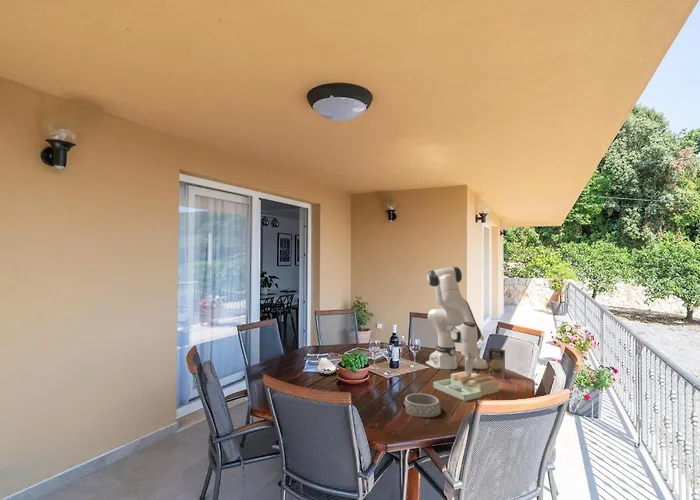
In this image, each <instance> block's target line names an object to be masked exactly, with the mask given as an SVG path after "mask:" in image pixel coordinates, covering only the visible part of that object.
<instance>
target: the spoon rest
mask: <svg viewBox="0 0 700 500" xmlns="http://www.w3.org/2000/svg"><path fill="white" fill-rule="evenodd" d="M318 364H319V365H317V370H318V372H319V373H320V374H322V373H324V374H329V375H332V374H333V373H334V372H336V369H337V367H336V366H335V364H333V363H332V362H331V361H330V360H329V359H327V357H321V358H319V361H318ZM324 368H325V369H329V370H331V371H323V370H321V369H324ZM331 373H332V374H331ZM324 374H323V375H324Z"/></svg>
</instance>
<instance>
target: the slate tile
mask: <svg viewBox="0 0 700 500" xmlns="http://www.w3.org/2000/svg"><path fill="white" fill-rule="evenodd" d="M448 388H450V389H452V390H455V391H457V392H460V391H462V387H459V386H457V385H451V386H448Z"/></svg>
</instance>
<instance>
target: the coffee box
mask: <svg viewBox="0 0 700 500" xmlns="http://www.w3.org/2000/svg"><path fill="white" fill-rule="evenodd" d="M488 376H489V377H494V378H502V379H504V378H505V376H506V350H505V349H499V348H489V350H488Z"/></svg>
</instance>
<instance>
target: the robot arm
mask: <svg viewBox="0 0 700 500" xmlns="http://www.w3.org/2000/svg"><path fill="white" fill-rule="evenodd" d="M462 277H463V273H462V271H461V269H460V268H459V267H457V266H452V267H443V268H439V269H438V268H437V269H435V270H434V269H432V270H430V271H428V272H427V276H426V280H427V283H428V284H429V286H431V287H434V293H435V294H434V295H435V301H436V303H437V305H439V306H440V307H442V308H432V309H430V310H429V311H428V313H427V319H428V322H429V323H430V324H431V325H432V326H433V327H434V328H435V331H436V333H437V334H436V335H437V345H436V349H435V351H433V352H431V354H429V357H428V358H429V360H426V361H425V364H427V365H429V366H430V367H433V368H434V369H440V370H455V369H458V363H457V355H456V344H461V353H460V354H461V355H462V356H463V358H464V360H465V361H464V371H465V372H468V375H469V377H471V373H472V372H473V369H474V368H473V365H474V360H475V359H476V356H478V347H479V345H478V342H479V341H480V340H481V339H480V338H481V334H482V331H481V329H480V328H479V326H478V323H477V321H476V319H475V316H474V315H473V312H472V309H471V307H470V303H469V302H468V301H467V300H466V299H465V298H464V297H463V294H462V293H461V291H460V287H459V283H461V282H462V280H463V278H462ZM447 326H449V327H451V329H450V330H449V329H448V327H447Z"/></svg>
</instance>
